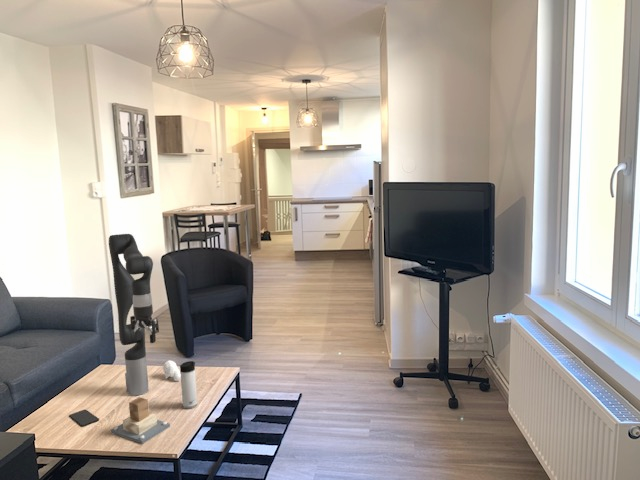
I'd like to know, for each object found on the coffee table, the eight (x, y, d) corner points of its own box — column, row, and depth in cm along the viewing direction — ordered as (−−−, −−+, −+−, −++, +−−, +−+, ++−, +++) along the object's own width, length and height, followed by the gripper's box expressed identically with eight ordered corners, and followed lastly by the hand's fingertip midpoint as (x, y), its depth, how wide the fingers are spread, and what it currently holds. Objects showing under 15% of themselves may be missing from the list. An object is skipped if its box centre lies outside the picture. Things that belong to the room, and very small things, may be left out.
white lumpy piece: (172, 357, 245) (185, 365, 237) (173, 372, 247) (185, 381, 239) (161, 361, 241) (174, 369, 233) (161, 376, 242) (174, 385, 235)
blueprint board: (110, 432, 191) (110, 428, 190) (139, 416, 203) (138, 412, 203) (142, 443, 182) (142, 438, 182) (170, 426, 194) (169, 421, 194)
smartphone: (85, 408, 211) (100, 418, 201) (85, 410, 211) (100, 421, 201) (67, 415, 206) (81, 426, 196) (67, 417, 206) (82, 428, 196)
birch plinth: (123, 429, 191) (122, 420, 190) (141, 419, 198) (140, 410, 198) (139, 434, 186) (138, 425, 186) (157, 424, 194) (156, 414, 194)
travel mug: (194, 409, 208) (191, 365, 205) (180, 408, 209) (177, 365, 206) (200, 402, 214) (197, 360, 211) (187, 401, 215) (183, 359, 212)
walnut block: (130, 419, 191) (128, 402, 190) (140, 413, 195) (139, 397, 194) (139, 421, 189) (137, 405, 188) (149, 415, 193) (147, 399, 192)
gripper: (123, 304, 200) (126, 341, 202) (147, 308, 193) (150, 346, 195) (138, 300, 206) (141, 336, 209) (161, 303, 200) (164, 340, 202)
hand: (145, 341), depth 202 cm, fingers open, 8 cm apart
